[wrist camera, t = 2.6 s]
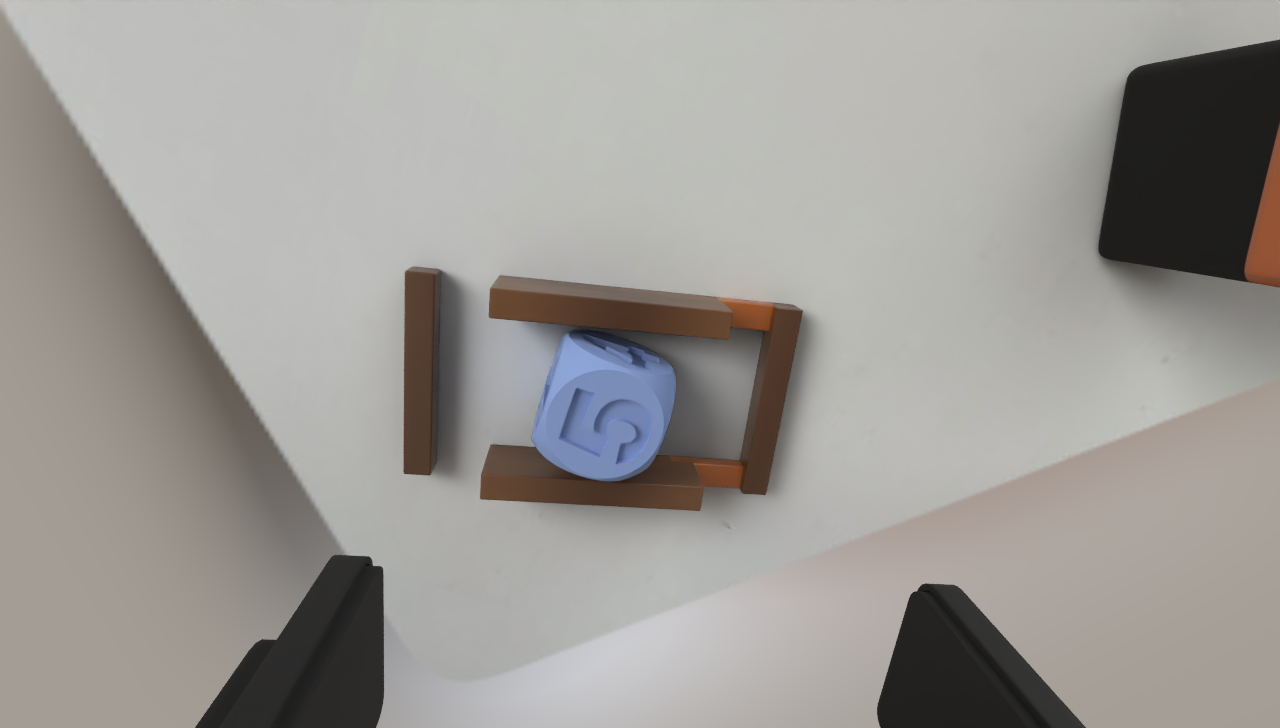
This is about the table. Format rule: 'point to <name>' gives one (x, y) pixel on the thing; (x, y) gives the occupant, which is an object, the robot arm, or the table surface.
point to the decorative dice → (604, 406)
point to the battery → (1199, 167)
